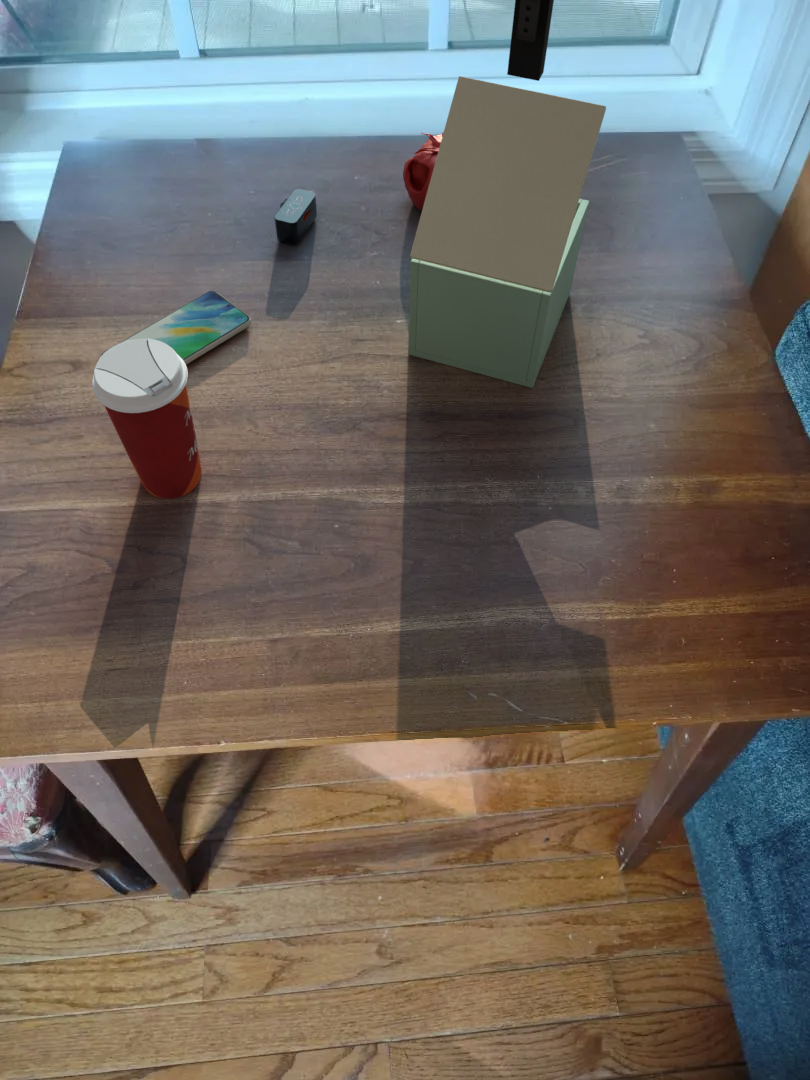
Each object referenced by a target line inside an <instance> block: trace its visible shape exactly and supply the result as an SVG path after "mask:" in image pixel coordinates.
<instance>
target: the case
mask: <svg viewBox="0 0 810 1080" xmlns="http://www.w3.org/2000/svg"><path fill="white" fill-rule="evenodd" d="M589 207H590V200H588V199H583V198H580V199H579V202H578V206H577V209H576V212H575V216H574V219H573V222H572V226H571V229H570V233H569V236H568V239H567V243H566V246H565V249H564V253H563V256H562V259H561V263H560V266H559V270H558V273H557V276H556V280H555V283H554V286H553V290H552V293H550V292H546V291H541V290H537V289H533V288H529V287H525V286H521V285H517V284H513V283H509V282H505V281H501V280H497V279H493V278H489V277H485V276H481V275H477V274H473V273H469V272H465V271H461V270H457V269H453V268H449V267H445V266H441V265H437V264H433V263H429V262H425V261H421V260H417V259H413V258H411V260H410V264H409V265H410V267H409V268H410V269H409V305H408V306H409V309H408V339H407V340H408V345H407V346H408V347H407V355H408V356H412V357H416V358H420V359H424V360H426V361H427V360H428V361H431V362H434V363H438V364H442V365H446V366H449V367H452V368H453V367H454V368H457V369H460V370H463V371H468V372H471V373H475V374H479V375H483V376H485V377H486V376H487V377H490V378H494V379H498V380H501V381H504V382H505V381H506V382H509V383H512V384H516V385H520V386H523V387H527V388H531V389H533V388H534V386H535V383H536V381H537V378H538V376H539V373H540V371H541V368H542V365H543V364H544V360H545V358H546V355H547V353H548V351H549V348H550V345H551V343H552V340H553V337H554V335H555V332H556V331H557V327H558V325H559V323H560V320H561V317H562V314H563V312H564V310H565V307H566V305H567V302H568V300H569V297H570V294H571V289H572V284H573V279H574V275H575V271H576V266H577V261H578V258H579V253H580V248H581V243H582V238H583V233H584V229H585V226H586V225H585V224H586V221H587V215H588V211H589Z"/></svg>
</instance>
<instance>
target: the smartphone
mask: <svg viewBox="0 0 810 1080" xmlns="http://www.w3.org/2000/svg"><path fill="white" fill-rule="evenodd" d="M251 325H252V318H251V316H249V314H247V313H246V312H244V311H243V310H242V309H240V308H239V307H238V306H236V305H235V304H234V303H232V302H231V301H229V300H228V299H227V298H225V297H224V296H223V295H222V294H221V293H219V292H217V291H216V290H208V291H206V292H204V293H202V294H200V295H199V296H197V297H196V298H194V299H192V300H191V301H189V302H187V303H185V304H183V305H182V306H180V307H178V308H176V309H175V310H173V311H171V312H170V313H168V314H166V315H164V316H163V317H161V318H159V319H157V320H156V321H153V323H151V324H148V325H147V326H145V327H143V328H142V329H140V330H138V331H136V332H135V333H133V334H131V335H129V336H128V337H126V338H125V339H123V340H121V341H119V342H118V343H115V344H114V345H112V346H110V347H109V348H107V349H105V350H103V351H102V352H101V353H100V355H99V358H100V357H101V356H102V355H103V354H104V353H105V352H106V351H107V350H109V349H110V348H112V347H113V346H115V345H117V344H119V343H122V342H124V341H128V340H134V339H147V340H148V339H154V340H158V341H161V342H163V343H165V344H167V345H168V346H170V347H171V348H172V349H173V350H174V351H175V352H176V353H177V354H178V355H179V356H180V357H181V358H182V359H183V361H184V362H185V364H186V365H188V364H190V363H191V362H193V361H194V360H196V359H198V358H200V357H201V356H202V355H204V354H206V353H207V352H209V351H211V350H212V349H214V348H216V347H218V346H219V345H221V344H223V343H224V342H227V340H229V339H231V338H232V337H234V336H235V335H238V334H239V333H240V332H242V331H244V330H246V329H247V328H249V327H250V326H251Z"/></svg>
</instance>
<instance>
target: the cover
mask: <svg viewBox="0 0 810 1080" xmlns="http://www.w3.org/2000/svg"><path fill="white" fill-rule="evenodd" d="M606 111H607V106H606V105H602V104H599V103H592V102H588V101H583V100H579V99H573V98H568V97H563V96H560V95H554V94H549V93H543V92H539V91H534V90H529V89H525V88H520V87H514V86H510V85H505V84H501V83H497V82H496V83H495V82H491V81H487V80H480V79H477V78H471V77H465V76H461V75H459V76H458V78H457V82H456V86H455V90H454V94H453V97H452V101H451V103H450V108H449V111H448V114H447V118H446V122H445V125H444V130H443V131H444V133H443V132H442V133H443V136H442V140H441V144H440V147H439V151H438V155H437V158H436V162H435V166H434V169H433V173H432V177H431V180H430V184H429V188H428V191H427V195H426V199H425V202H424V206H423V210H422V211H421V214H420V217H419V220H418V223H417V224H418V225H417V228H416V232H415V235H414V240H413V243H412V247H411V251H410V254H409V257H410V258H411V259H412V258H413V259H417V260H421V261H425V262H429V263H433V264H437V265H441V266H445V267H449V268H453V269H457V270H461V271H465V272H469V273H473V274H477V275H481V276H485V277H489V278H493V279H497V280H501V281H505V282H509V283H513V284H517V285H521V286H525V287H529V288H533V289H537V290H541V291H546V292H550V293H552V290H553V286H554V283H555V280H556V276H557V273H558V270H559V266H560V263H561V259H562V256H563V253H564V249H565V246H566V243H567V239H568V236H569V233H570V229H571V226H572V222H573V219H574V216H575V212H576V209H577V206H578V202H579V199H581V195H582V191H583V188H584V185H585V182H586V179H587V175H588V171H589V168H590V164H591V162H592V158H593V156H594V151H595V149H596V145H597V142H598V138H599V135H600V131H601V128H602V124H603V122H604V118H605V114H606Z"/></svg>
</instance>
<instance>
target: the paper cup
mask: <svg viewBox="0 0 810 1080" xmlns="http://www.w3.org/2000/svg"><path fill="white" fill-rule="evenodd" d="M118 343H119V342H118ZM118 343H116V344H117V345H116V344H114V345H115V346H114V345H112V346H113V347H112V346H111V347H112V348H111V347H109V348H110V349H109V348H108V349H109V350H107V349H106V350H107V351H106V352H105V353H104V354H103V355H102V356H101V357H100V356H99V359H98V361H97V362H96V364H95V367H94V369H93V375H92V381H91V388H92V392H93V395H94V396H95V398H96V399H97V400H98V402H99V403H100V404H102V405H103V406H104V409H105V410H106V413H107V414H108V417H109V418H110V421H111V423H112V425H113V427H114V429H115V431H116V434H117V436H118V437H119V440H120V442H121V444H122V447H123V448H124V450H125V453H126V454H127V456H128V459H129V460H130V463H131V464H132V467H133V468H134V471H135V473H136V474H137V477H138V478H139V480H140V482H141V484H142V486H143V488H144V489H145V490H146V491H147V492H148V493H149V494H150V495H152V496H154V497H156V498H160V499H166V500H167V499H177V498H181V497H183V496H185V495H187V494H189V493H191V492H192V491H193V490H194V489H195V488H196V487H197V486H198V484H199V483H200V481H201V478H202V464H201V456H200V451H199V450H200V449H199V446H198V439H197V435H196V428H195V423H194V417H193V413H192V407H191V403H190V397H189V390H188V386H187V382H188V378H189V372H188V371H189V370H188V366H187V364H185V362H184V361H183V359H182V358H181V357H180V356H179V355H178V354H177V353H176V352H175V351H174V350H173V349H172V348H171V347H170V346H168V345H167V344H165V343H163V342H161V341H158V340H154V339H148V340H147V339H134V340H128V341H124V342H122V343H119V344H118Z"/></svg>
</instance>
